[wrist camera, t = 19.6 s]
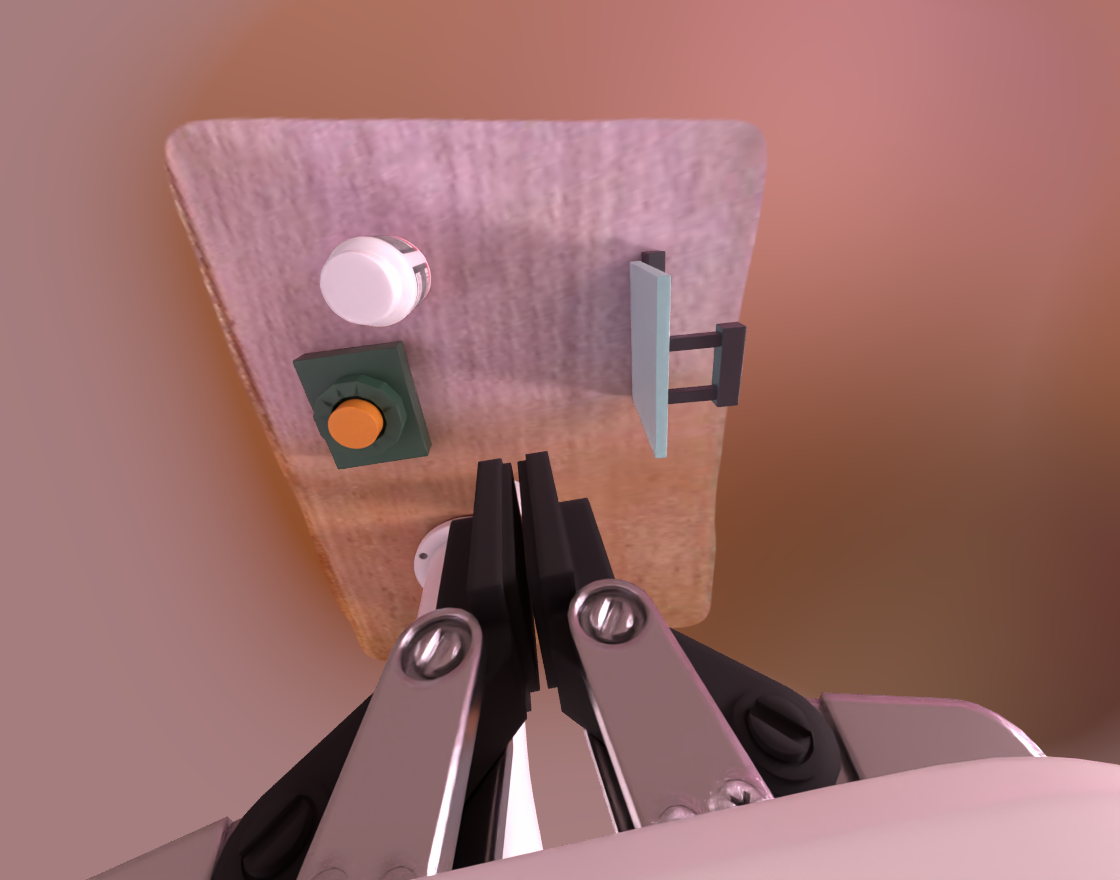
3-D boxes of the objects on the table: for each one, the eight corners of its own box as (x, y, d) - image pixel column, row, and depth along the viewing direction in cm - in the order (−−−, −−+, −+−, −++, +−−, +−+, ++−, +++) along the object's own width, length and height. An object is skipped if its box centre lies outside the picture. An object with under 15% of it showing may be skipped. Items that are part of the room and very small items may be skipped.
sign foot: (656, 396, 39) (663, 403, 38) (642, 398, 39) (648, 405, 38) (657, 250, 33) (665, 251, 32) (641, 252, 33) (648, 253, 32)
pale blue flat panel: (632, 399, 38) (691, 394, 38) (655, 458, 28) (735, 452, 28) (629, 261, 32) (698, 254, 32) (656, 276, 23) (756, 265, 22)
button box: (431, 444, 38) (425, 466, 35) (346, 457, 38) (330, 480, 34) (402, 340, 34) (390, 353, 30) (303, 353, 33) (280, 368, 30)
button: (389, 435, 34) (383, 445, 32) (345, 442, 33) (337, 452, 32) (375, 395, 32) (369, 403, 30) (328, 401, 32) (320, 410, 30)
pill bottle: (343, 265, 31) (282, 277, 22) (396, 219, 30) (353, 213, 21) (396, 323, 33) (360, 355, 25) (446, 282, 32) (427, 300, 24)
